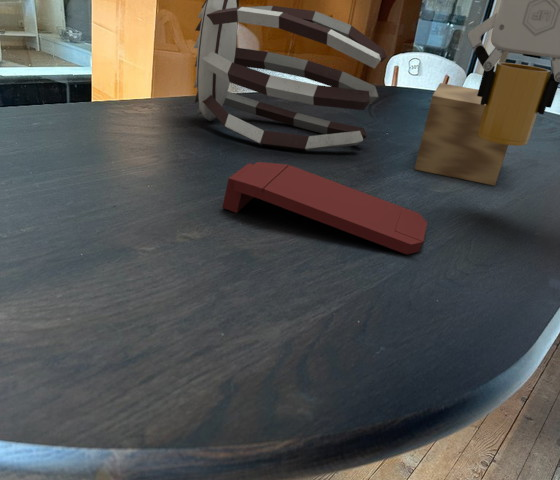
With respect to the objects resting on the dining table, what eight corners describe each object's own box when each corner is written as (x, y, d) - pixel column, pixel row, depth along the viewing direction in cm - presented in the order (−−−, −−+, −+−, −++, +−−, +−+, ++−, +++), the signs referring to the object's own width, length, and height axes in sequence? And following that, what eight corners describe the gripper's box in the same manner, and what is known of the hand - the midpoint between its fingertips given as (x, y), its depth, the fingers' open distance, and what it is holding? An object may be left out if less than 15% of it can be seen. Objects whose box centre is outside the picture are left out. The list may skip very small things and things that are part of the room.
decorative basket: (214, 103, 126) (371, 147, 121) (156, 127, 104) (344, 182, 99) (229, -32, 111) (407, 11, 106) (165, -36, 90) (385, 18, 85)
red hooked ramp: (414, 249, 81) (247, 186, 83) (428, 216, 78) (255, 151, 80) (405, 284, 71) (216, 212, 73) (422, 248, 68) (224, 173, 70)
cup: (525, 138, 84) (548, 68, 79) (528, 148, 78) (553, 73, 73) (477, 130, 85) (496, 60, 80) (476, 139, 79) (497, 65, 74)
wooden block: (494, 162, 115) (515, 96, 108) (495, 185, 101) (519, 111, 94) (423, 148, 118) (439, 82, 111) (414, 169, 103) (432, 95, 96)
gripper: (485, -65, 68) (445, 101, 78) (645, -48, 65) (582, 123, 75) (485, -60, 74) (448, 94, 84) (632, -44, 71) (575, 114, 81)
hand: (511, 106), depth 79 cm, fingers closed on cup, 6 cm apart
